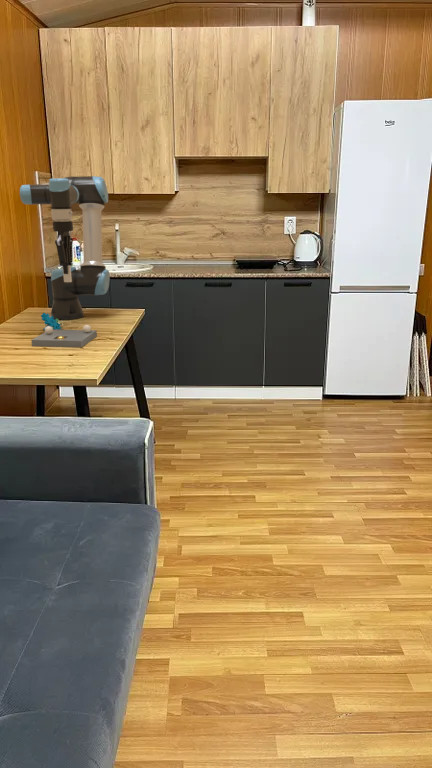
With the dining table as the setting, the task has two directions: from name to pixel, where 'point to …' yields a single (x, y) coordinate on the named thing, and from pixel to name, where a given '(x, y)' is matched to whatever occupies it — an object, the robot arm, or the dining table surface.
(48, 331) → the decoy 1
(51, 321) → the gear
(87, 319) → the dining table surface
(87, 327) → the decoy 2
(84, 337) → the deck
